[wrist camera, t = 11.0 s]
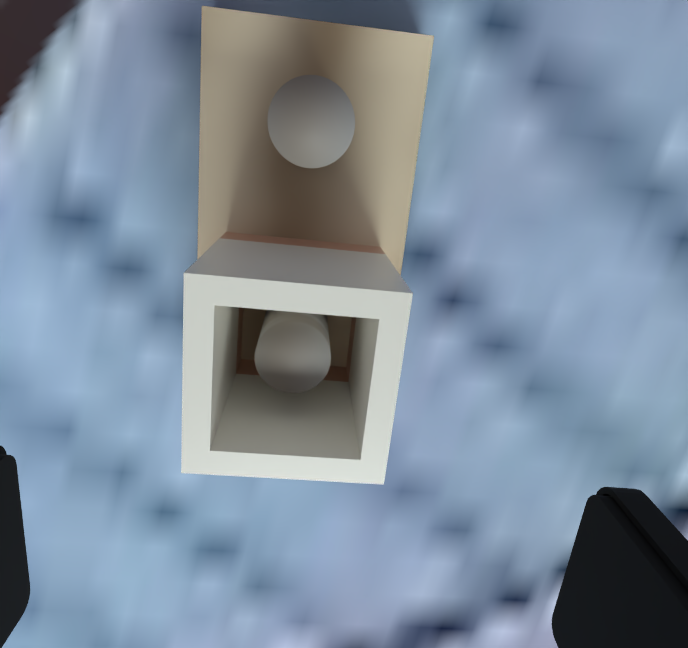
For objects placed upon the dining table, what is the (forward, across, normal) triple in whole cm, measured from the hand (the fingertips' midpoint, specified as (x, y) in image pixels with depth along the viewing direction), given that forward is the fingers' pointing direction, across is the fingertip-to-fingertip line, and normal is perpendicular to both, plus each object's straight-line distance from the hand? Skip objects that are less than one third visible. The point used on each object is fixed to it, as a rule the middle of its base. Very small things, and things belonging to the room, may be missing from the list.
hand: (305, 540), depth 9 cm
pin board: (+15, +1, -3) cm, 16 cm away
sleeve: (+13, +1, 0) cm, 13 cm away
